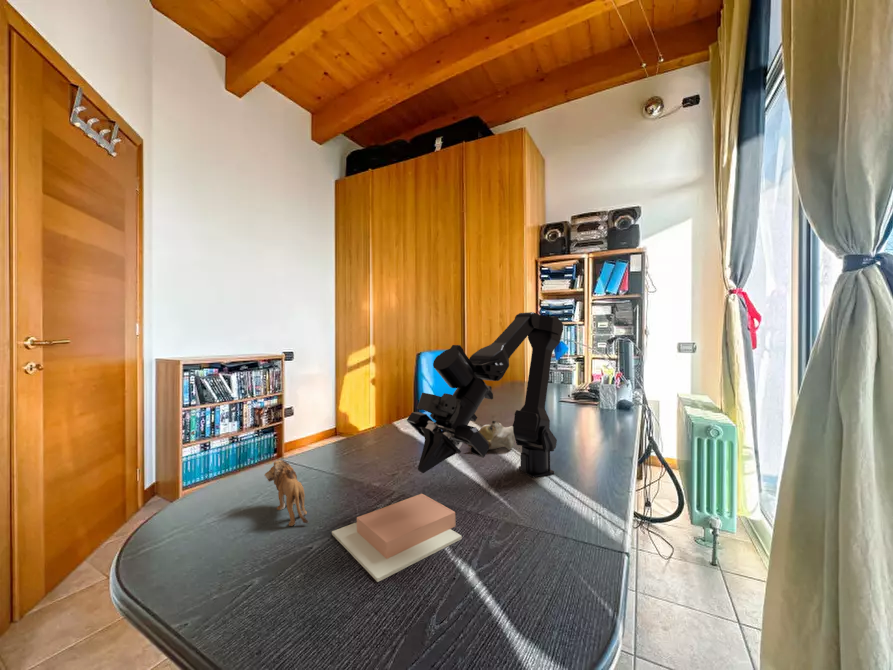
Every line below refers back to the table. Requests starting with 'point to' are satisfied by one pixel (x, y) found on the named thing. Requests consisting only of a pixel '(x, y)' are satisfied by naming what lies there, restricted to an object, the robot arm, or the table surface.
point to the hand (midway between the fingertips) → (420, 471)
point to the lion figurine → (288, 489)
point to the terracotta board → (405, 524)
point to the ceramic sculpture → (498, 435)
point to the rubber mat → (387, 567)
